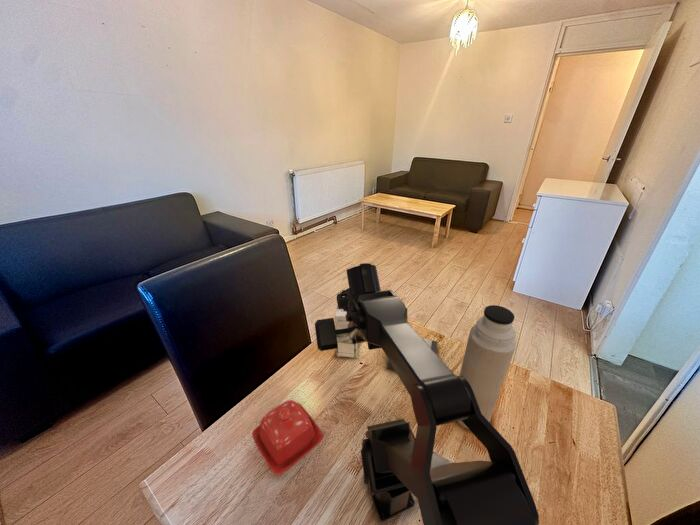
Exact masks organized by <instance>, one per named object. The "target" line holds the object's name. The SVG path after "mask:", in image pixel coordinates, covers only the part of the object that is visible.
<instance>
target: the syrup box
mask: <svg viewBox="0 0 700 525" xmlns="http://www.w3.org/2000/svg"><path fill="white" fill-rule="evenodd" d="M346 314H347V312H346V311H344V310H343V309H339V308H338V304H337V305H336V310H335V314H334V322H335V329H336V330H338V329H345V328H348V324H349V321H346V316H345V315H346ZM343 335H344V337H345V335H346V336H347V335H349V333H348V334H342V335H336V336H338V337H339V336H340V337H341V336H342V337H343ZM337 343H338V348H336V349H335V356H336V357H338V358H350V359H351V358H352V359H357V354H358V344H359V343H358V344H352V339H349V340H343V341H337Z"/></svg>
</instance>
